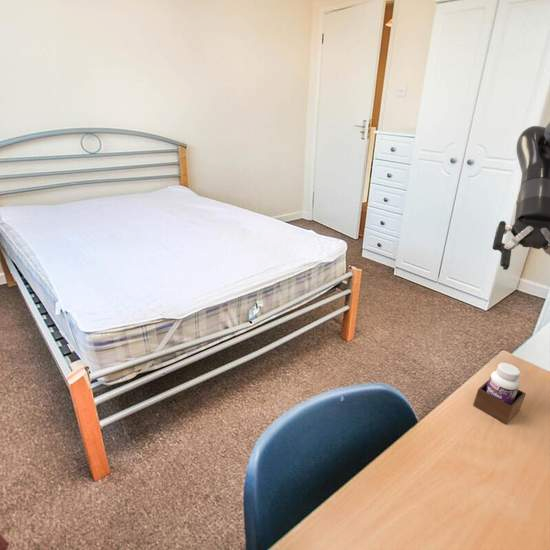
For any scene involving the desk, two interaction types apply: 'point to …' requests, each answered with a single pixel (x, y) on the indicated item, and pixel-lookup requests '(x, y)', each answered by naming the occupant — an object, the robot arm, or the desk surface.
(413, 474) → the desk surface
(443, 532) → the desk surface
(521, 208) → the robot arm
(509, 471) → the desk surface
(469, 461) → the desk surface
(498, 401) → the dark brown open bin
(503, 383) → the pill bottle
